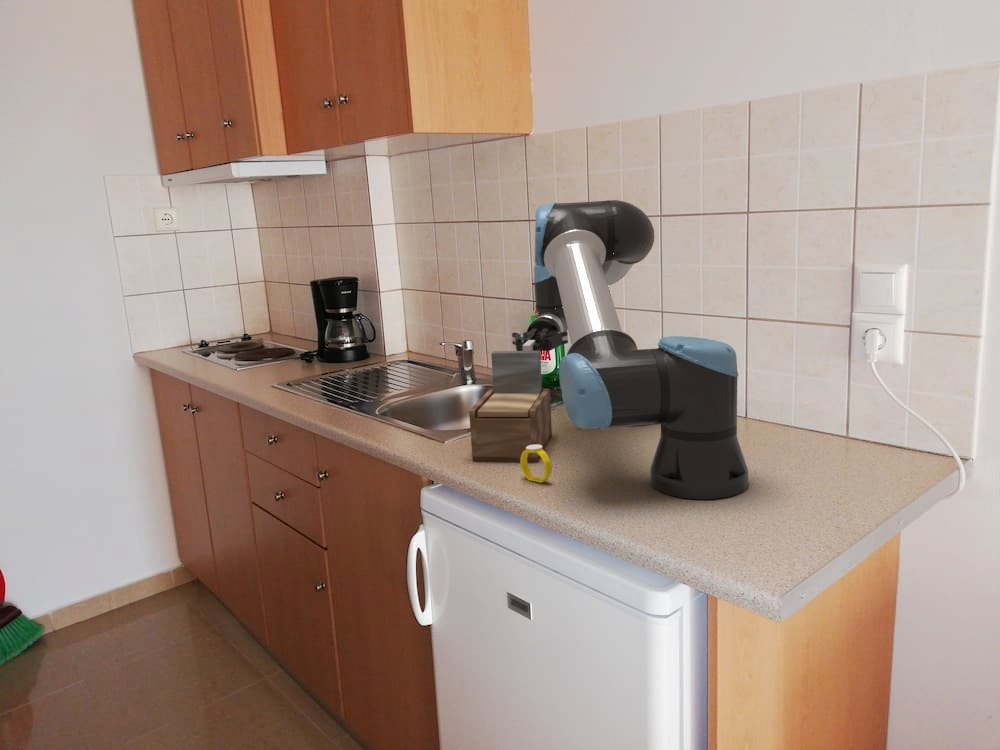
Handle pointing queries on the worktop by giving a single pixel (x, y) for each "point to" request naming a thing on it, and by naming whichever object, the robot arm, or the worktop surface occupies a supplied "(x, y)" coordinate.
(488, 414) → the lid
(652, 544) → the worktop surface
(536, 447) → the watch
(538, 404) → the walnut box
